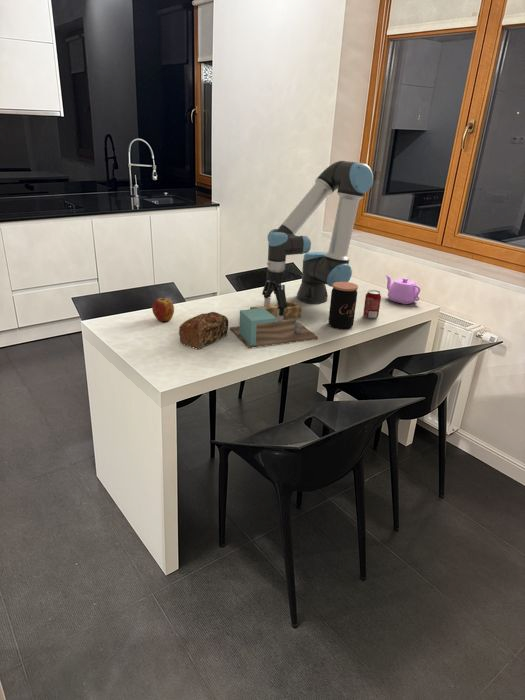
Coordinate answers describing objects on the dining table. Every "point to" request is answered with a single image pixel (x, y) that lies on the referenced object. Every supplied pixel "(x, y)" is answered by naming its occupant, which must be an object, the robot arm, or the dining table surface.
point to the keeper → (253, 323)
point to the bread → (203, 329)
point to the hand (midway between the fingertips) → (273, 316)
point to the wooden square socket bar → (289, 312)
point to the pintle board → (278, 333)
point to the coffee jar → (342, 305)
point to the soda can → (372, 304)
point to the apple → (163, 309)
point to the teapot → (402, 290)
